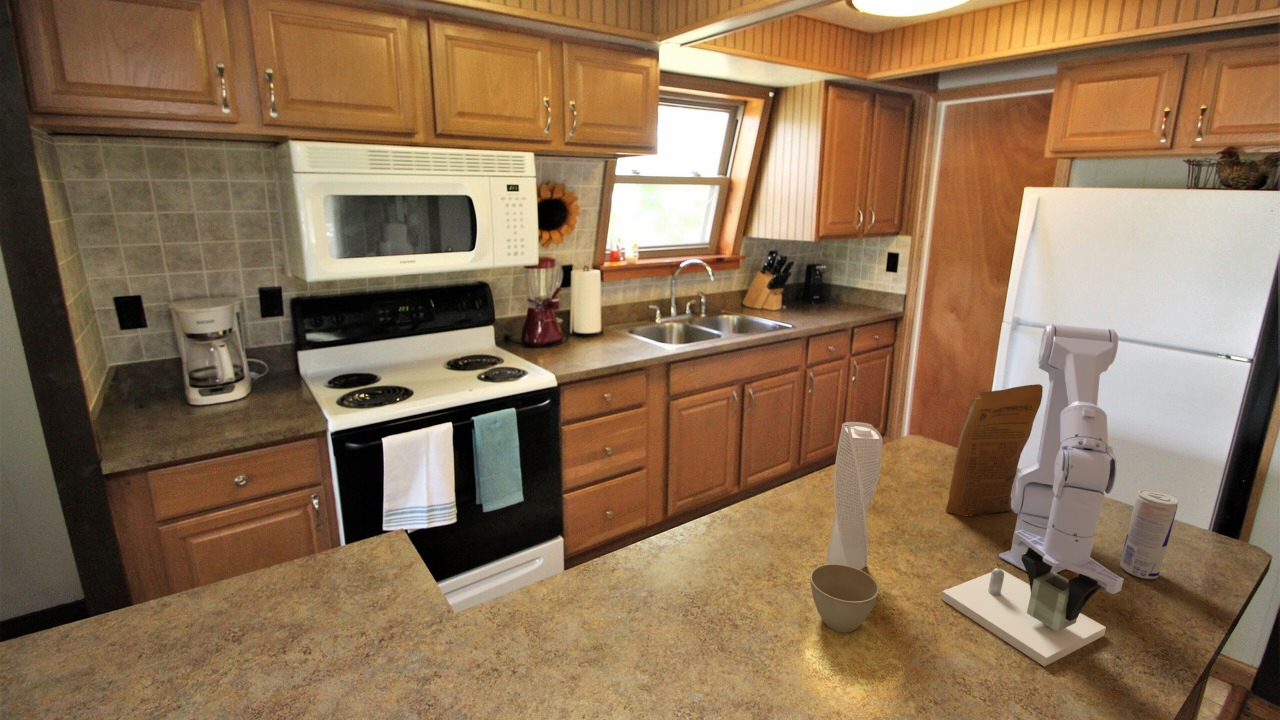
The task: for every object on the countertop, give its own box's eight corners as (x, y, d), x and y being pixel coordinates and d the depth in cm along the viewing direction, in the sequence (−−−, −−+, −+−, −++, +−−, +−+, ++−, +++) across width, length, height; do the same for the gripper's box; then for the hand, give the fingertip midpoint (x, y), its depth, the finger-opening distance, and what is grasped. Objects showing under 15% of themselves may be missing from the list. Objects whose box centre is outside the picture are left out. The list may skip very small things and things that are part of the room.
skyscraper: (851, 584, 108) (871, 430, 100) (814, 564, 113) (830, 417, 106) (875, 567, 113) (895, 419, 105) (838, 549, 118) (855, 408, 111)
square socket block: (1045, 605, 98) (1052, 571, 97) (1075, 622, 94) (1083, 587, 93) (1026, 613, 96) (1033, 579, 95) (1057, 631, 92) (1065, 596, 91)
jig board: (998, 576, 111) (1004, 546, 109) (1103, 635, 96) (1112, 602, 95) (941, 599, 104) (946, 567, 103) (1044, 666, 89) (1052, 631, 88)
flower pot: (872, 609, 101) (878, 570, 99) (873, 651, 92) (879, 608, 90) (808, 596, 104) (813, 557, 102) (803, 634, 95) (807, 593, 93)
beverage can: (1165, 583, 110) (1186, 505, 106) (1129, 578, 111) (1149, 501, 107) (1147, 565, 115) (1166, 490, 111) (1113, 561, 116) (1131, 486, 112)
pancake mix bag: (1032, 514, 133) (1057, 387, 126) (954, 523, 129) (976, 392, 121) (1007, 499, 139) (1030, 377, 132) (932, 507, 135) (952, 382, 128)
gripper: (1006, 510, 96) (991, 588, 99) (1110, 559, 84) (1089, 646, 87) (1034, 501, 99) (1019, 577, 103) (1139, 546, 87) (1117, 631, 90)
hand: (1053, 607), depth 95 cm, fingers closed on square socket block, 4 cm apart
